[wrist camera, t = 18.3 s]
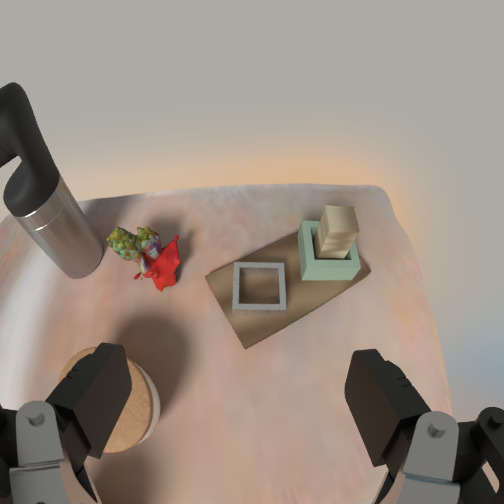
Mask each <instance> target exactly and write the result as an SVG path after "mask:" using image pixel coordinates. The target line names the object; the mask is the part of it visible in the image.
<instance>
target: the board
mask: <svg viewBox="0 0 504 504" xmlns="http://www.w3.org/2000/svg"><path fill="white" fill-rule="evenodd" d="M297 235H298V232H297V233H295V234H293V235H291V236H289V237H287V238H285V239H282V240H280V241H278V242H276V243H274V244H272V245H270V246H268V247H266V248H264V249H261V250H259V251H257V252H255V253H253V254H251V255H249V256H247V257H245V258H242V259H240V260H238V261H236V262H257V263H284V274H285V292H286V312H285V314H284V316H233V312H232V301H233V273H234V263H232V264H230V265H228V266H226V267H224V268H221V269H219V270H217V271H215V272H213V273H211V274H209V275H207V276H205V278H206V281H207V283H208V285H209V287H210V288H211V290H212V292H213V294H214V296H215V298H216V299H217V301H218V303H219V305H220V307H221V308H222V310H223V312H224V314H225V315H226V317H227V319H228V321H229V323H230V324H231V326H232V328H233V329H234V331H235V333H236V335H237V336H238V338H239V340H240V342H241V343H242V345H243V347H244V348H245V349H247V348H249V347H251V346H253V345H254V344H256V343H258V342H260V341H262V340H264V339H265V338H267V337H269V336H271V335H273V334H274V333H276V332H278V331H280V330H281V329H283V328H285V327H287V326H288V325H290V324H292V323H293V322H295V321H297V320H299V319H300V318H302V317H304V316H305V315H307V314H309V313H310V312H312V311H314V310H315V309H317V308H318V307H320V306H322V305H323V304H325V303H326V302H328V301H330V300H331V299H333V298H334V297H336V296H338V295H339V294H341V293H342V292H344V291H345V290H347V289H348V288H350V287H351V286H353V285H354V284H356V283H357V282H359V281H360V280H362V279H363V278H365V277H366V276H368V275H369V273H370V272H371V270H370V269H369V267H368V266H367V265H366V264H365V262H364V261H363V260H362V259H361V257H360V256H359V255H358V256H359V261H360V266H361V268H360V270H359V271H358V272H357V274H356V275H355V276H354V278H353V279H352V280H302V279H301V268H300V257H299V247H298V237H297ZM239 304H278V299H277V276H243V275H240V283H239Z"/></svg>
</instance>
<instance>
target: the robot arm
mask: <svg viewBox="0 0 504 504" xmlns="http://www.w3.org/2000/svg"><path fill="white" fill-rule="evenodd" d="M16 156H19V157H20V158H21V160H22V162H21V163H20V165H19V166H18V168H17V169H16V170H15V172H14V173H13V174H12V176H11V177H10V179H9V181H8V182H7V184H6V187H5V190H4V196H3V199H4V203H5V205H6V207H7V208H8V210H9V211H10V212H11V213H12V215H13V216H14V217H15V218H16V219H17V221H18V222H19V223H20V224H21V226H22V227H23V228H24V229H25V230H26V231H27V233H28V234H29V235H30V236H31V237H32V239H33V240H34V241H35V242H36V243H37V244H38V245H39V246H40V248H41V249H42V250H43V251H44V252H45V253H46V254H47V255H48V256H49V257H50V258H51V260H52V261H53V262H54V263H55V264H56V265H57V266H58V267H59V268H60V269H61V270H62V271H63V272H64V273H65V274H66V275H67V276H69V277H71V278H76V279H77V278H82V277H85V276H87V275H88V274H90V273H91V272H92V271H94V270H95V268H96V267H97V266H98V264H99V263H100V261H101V258H102V255H103V244H102V242H101V240H100V239H99V237H98V236H97V234H96V233H95V231H94V229H93V228H92V226H91V225H90V223H89V222H88V220H87V218H86V217H85V215H84V214H83V212H82V210H81V209H80V207H79V205H78V204H77V202H76V200H75V199H74V197H73V196H72V194H71V192H70V190H69V189H68V187H67V186H66V184H65V182H64V180H63V178H62V176H61V175H60V173H59V171H58V169H57V167H56V166H55V163H54V161H53V159H52V157H51V154H50V152H49V150H48V148H47V146H46V144H45V142H44V140H43V137H42V135H41V132H40V130H39V127H38V125H37V122H36V119H35V116H34V113H33V110H32V107H31V105H30V102H29V100H28V97H27V95H26V93H25V91H24V90H23V88H22V87H21V86H20V85H19V84H17V83H14V82H12V83H9V84H7V85H5V86H4V87H2V88H1V89H0V168H1V167H2V166H3V165H5V164H6V163H8V162H9V161H11V160H12V159H13V158H15V157H16ZM71 369H72V370H70V371H69V372H68V373H67V374H66V377H64V378H63V379H62V381H61V382H60V383H59V384H58V385H57V387H56V388H55V389H54V390H53V392H52V393H51V394H50V395H49V397H48V398H47V399H46V400H45V402H44V401H31V402H28V403H26V404H24V405H23V406H22V407H21V408H20V409H19V410H18V411H16V410H9V409H3V408H2V406H1V405H0V504H102V502H101V500H100V498H99V496H98V493H97V491H96V488H95V486H94V483H93V481H92V478H91V475H90V473H89V470H88V467H87V465H86V463H85V459H86V457H87V455H89V456H92V457H95V458H98V459H100V458H101V455H102V453H103V451H104V449H105V447H106V444H107V442H108V440H109V438H110V436H111V434H112V432H113V429H114V427H115V425H116V423H117V421H118V419H119V417H120V415H121V413H122V411H123V409H124V407H125V405H126V403H127V401H128V399H129V397H130V394H131V390H132V379H131V375H130V371H129V367H128V363H127V359H126V354H125V350H124V348H123V346H122V345H117V344H110V343H101V344H100V345H99V346H98V347H97V348H96V350H95V351H94V352H93V353H92V354H88V355H86V356H84V357H83V358H81V359H79V360H78V361H77V362H76V364H75V365H74V366H73V367H72V368H71ZM345 398H346V402H347V404H348V406H349V409H350V411H351V413H352V416H353V418H354V420H355V423H356V425H357V427H358V430H359V432H360V435H361V437H362V439H363V442H364V444H365V447H366V449H367V452H368V454H369V457H370V459H371V462H372V464H373V466H374V467H377V466H381V465H384V464H386V465H387V467H388V471H387V472H386V474H385V476H384V478H383V481H382V483H381V485H380V487H379V490H378V492H377V494H376V496H375V498H374V500H373V502H372V504H504V410H502V409H500V408H497V407H488V408H485V409H484V410H483V411H481V413H480V414H479V416H478V418H477V419H476V421H471V422H460V423H456V421H455V419H454V418H453V417H451V416H450V415H448V414H446V413H444V412H439V411H431V410H430V408H429V407H428V405H427V404H426V403H425V401H424V400H423V399H422V397H421V396H420V394H419V393H418V392H417V390H416V389H415V388H414V386H412V384H411V382H410V381H409V380H408V378H407V379H406V376H405V374H404V373H403V372H402V370H401V369H400V368H399V367H398V366H396V365H395V364H393V363H392V362H390V361H389V360H388V361H385V360H384V359H383V358H382V356H381V355H380V353H379V352H378V351H377V350H376V349H367V350H357V351H354V353H353V355H352V359H351V363H350V367H349V371H348V375H347V379H346V383H345ZM487 461H488V463H489V465H490V466H491V468H492V470H493V471H494V473H495V475H496V476H497V478H498V480H499V489H498V491H497V493H495V491H494V489H493V487H492V486H491V483H490V482H489V480H488V478H487V476H486V475H485V473H484V471H483V469H482V468H481V467H482V466H483V465H484V464H485V463H486V462H487Z"/></svg>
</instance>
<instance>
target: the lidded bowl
mask: <svg viewBox="0 0 504 504" xmlns="http://www.w3.org/2000/svg"><path fill="white" fill-rule="evenodd" d="M96 348H97V347H93V348H88V349H85V350H83V351H81V352H78V353H77V354H76V355H74V356H73V357H72V358H71V359H70V360H69V361H68V362H67V364H66V365H65V367H64V368H63V370H62V372H61V375H60V378H59V382H58V384H59V383H60V382H61V381H62V379H63V378H64V377H66V374H67V373H68V372H69V371H70V370H72V369H71V368H72V367H73V366H74V365H75V364H76V362H77V361H78V360H79V359H81V358H83V357H84V356H86V355H88V354H92V353H93V352H94V351H95V350H96ZM126 359H127V363H128V367H129V371H130V375H131V379H132V390H131V394H130V397H129V399H128V401H127V403H126V405H125V407H124V409H123V411H122V413H121V415H120V417H119V419H118V421H117V423H116V425H115V427H114V429H113V432H112V434H111V436H110V438H109V440H108V442H107V444H106V447H105V449H104V451H103V452H107V453H115V452H121V451H124V450H127V449H130V448H132V447H133V446H136V445H138V444H139V443H141V442H143V441H144V440H145V439H146V438H147V437H149V436H150V434H151V433H152V432H153V430H154V429H155V427H156V425H157V423H158V420H159V416H160V400H159V395H158V392H157V389H156V387H155V385H154V383H153V381H152V380H151V379H150V377H149V376H148V374H147V373H146V372H145V371H144V370H143V369H142V368H141V367H140V366H138V365H137V364H136V363H135V362H133V361H132V360H130V359H129V358H128V357H126Z"/></svg>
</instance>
